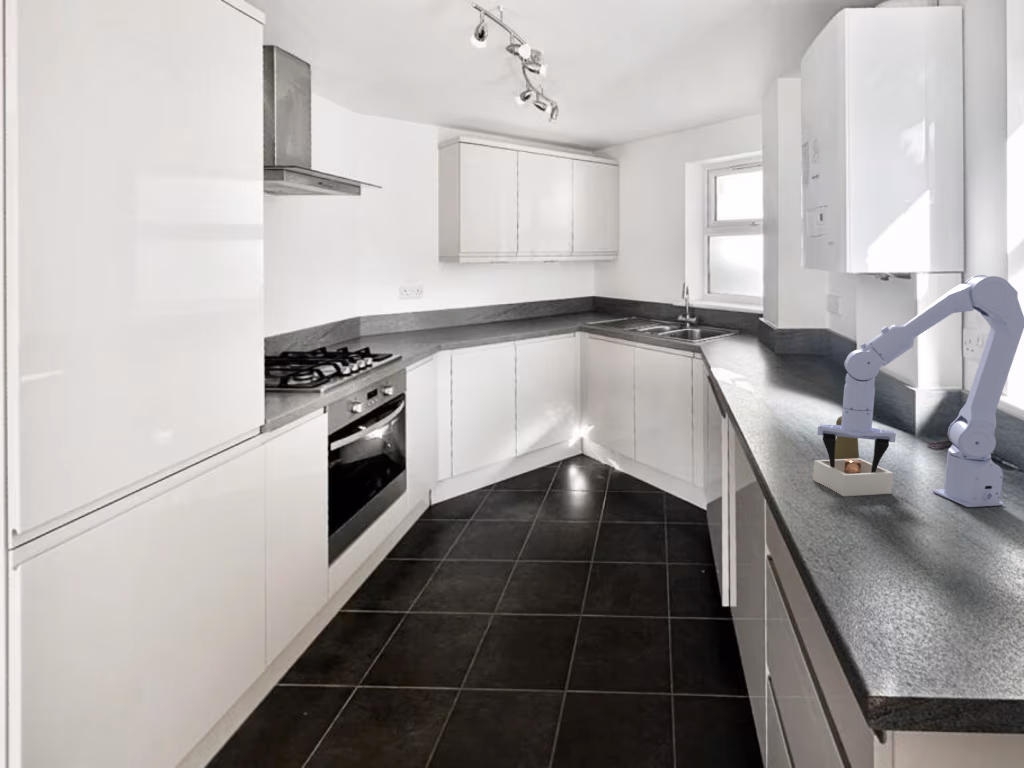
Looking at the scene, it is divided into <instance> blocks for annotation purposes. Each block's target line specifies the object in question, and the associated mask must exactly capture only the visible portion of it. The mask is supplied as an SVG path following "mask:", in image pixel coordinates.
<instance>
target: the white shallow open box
mask: <svg viewBox="0 0 1024 768" xmlns="http://www.w3.org/2000/svg"><path fill="white" fill-rule="evenodd" d="M845 460H847V459H835V468H833V467H831V466H830V459H818V460H817V459H815V460H814V461H813V474H812V475H813V477H812V481H814V482H816V483H818V484H819V483H820V485H821V484H822V485H821V486H823V485H824V487H825V486H826V488H827V487H828V488H827V489H829V488H830V489H829V490H831V489H832V490H833V492H834V491H835V492H834V493H836V492H837V494H838V495H840V496H842V497H853V496H854V497H855V496H871V495H873V496H874V495H890V494H892V493H893V485H894V484H893V482H894V472H892V471H890V470H888V469H886V468H883V467H881V466H879V465H878V466H877V469H876V472H875V473H871V468H872V462H869V461H867V460H865V459H862V458H861V457H859V458H855V459H853V460H859V461H861V462H862V465H861V473H857V474H847V473H845V472H844V465H845ZM832 490H831V491H832Z"/></svg>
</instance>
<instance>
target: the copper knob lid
mask: <svg viewBox="0 0 1024 768" xmlns="http://www.w3.org/2000/svg"><path fill="white" fill-rule="evenodd" d="M861 465H862V462H861V461H859V460H853V459H847V460H845V465H844V472H845V473H847V474H857V473H861Z"/></svg>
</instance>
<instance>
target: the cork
mask: <svg viewBox="0 0 1024 768" xmlns="http://www.w3.org/2000/svg"><path fill="white" fill-rule="evenodd" d="M841 422H842V415H841V416H838V417H837V419H836V423H835V425H841ZM855 458H860V455H859V438H851V437H841V436H836V443H835V459H855Z"/></svg>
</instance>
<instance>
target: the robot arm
mask: <svg viewBox="0 0 1024 768" xmlns="http://www.w3.org/2000/svg"><path fill="white" fill-rule="evenodd" d="M1018 298H1019V297H1018V291H1017V289H1015V288H1014V287H1013V285H1011V283H1010V282H1009V281H1007V280H1006V279H1005V278H1004V277H1001V276H996V275H995V276H994V275H993V276H988V275H985V274H979V275H974V276H971V277H970V278H968V279H967V280H966V281H965V282H964V283H960V284H958V285H957V286H954V287H953V288H952V289H950V290H949V291H947V292H946V293H944V294H943V295H942V296H940V297H939V298H938V299H937V300H935V301H934V302H933V303H931V304H930V305H928V306H927V307H925V308H924V309H923V310H921V311H920V312H919V313H918V314H917V315H915V316H913V318H911V319H910V320H909V321H907V322H906V323H904V324H902V325H900V324H892V325H891V326H889V327H888V326H886V325H885V326H883V327H882V328H881V329H880V333H879V334H877V335H876V336H875V337H873V338H872V339H871V340H870V341H868V342H867V343H865V342H862V343H861V344H859V347H860V348H861V349H855V350H853V351H850V352H849V354H848V355H847V356H846V359H845V361H844V362H843V364H844V369H845V370H846V372H847V373H846V375H845V384H844V387H843V398H842V410H841V411H842V412H841V413H842V414H841V416H842V422H841V425H836V424H818V425H817V436H822V442H823V445H824V446H825V449H826V451H827V454H828V458H829V459H828V460H830V466H831V467H833V468H835V443H836V438H837V436H841V437H851V438H858V439H863V440H874V445H873V446H874V447H873V457H872V462H871V463H872V468H871V473H875V472H876V469H877V466H879V463H880V461H881V459H882V457H884V454H885V453H886V452H887V450H888V448H889V446H890V443H896V435H897V432H896V431H895V430H888V429H887V430H885V429H880V428H874V427H873V417H874V405H875V393H876V386H875V384H876V383H875V382H876V376H878V374H879V373H880V370H881V369H880V368H881V367H885V366H887V365H889V364H890V363H891V362H893V361H894V360H896V359H897V358H899V357H900V356H902V355H904V353H906V352H907V351H909V350H911V349H913V346H914V342H915V339H916V338H917V337H918V336H919V335H921V334H923V333H924V332H926V331H927V330H929V329H931V328H932V327H934V326H935V325H937V324H939V323H940V322H942V321H944V320H945V319H946V318H947V317H949V316H951V315H953V314H957V313H966V312H973V311H976V312H978V313H979V314H981V316H982V317H983V318H984V320H985V321H986V323H987V324H988V325H989V326H990V329H989V332H988V335H987V338H986V341H985V344H984V348H983V351H982V354H981V356H980V359H979V362H978V366H977V368H976V371H975V375H974V378H973V381H972V384H971V386H970V391H969V394H968V396H967V399H966V402H965V403H964V405H963V406H962V407H961V409H960V410H959V412H958V415H957V417H956V418H955V420H953V421H952V422H951V423H950V425H949V426H948V430H947V437H948V439H949V441H950V442H951V443H952V444H951V445H950V447H949V448H948V450H947V457H946V466H945V473H944V474H945V475H944V485H943V488H939V489H937V488H936V489H933V490H932V492H933V493H935V494H937V495H939V496H941V497H943V498H946V499H947V500H951V501H953V502H956V503H957V504H960V505H962V506H964V507H967V508H977V507H978V508H979V507H993V506H995V507H996V506H1003V505H1004V502H1003V501H1001V496H1002V487H1003V481H1004V473H1003V469H1002V468H1001V466H999V465H998V464H997V463H995V462H994V460H992V453H993V452H994V450H995V448H996V445H997V439H996V435H995V431H996V428H997V417H996V416H997V415H996V414H997V413H996V412H997V409H998V406H999V403H1000V400H1001V398H1002V397H1001V396H1002V393H1003V390H1004V388H1005V385H1006V383H1007V382H1006V381H1007V380H1008V376H1009V374H1010V371H1011V367H1012V364H1013V361H1014V358H1015V356H1016V352H1017V349H1018V346H1019V344H1020V341H1021V338H1022V335H1023V332H1024V314H1023V310H1022V307H1021V305H1020V302H1019V299H1018Z"/></svg>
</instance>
